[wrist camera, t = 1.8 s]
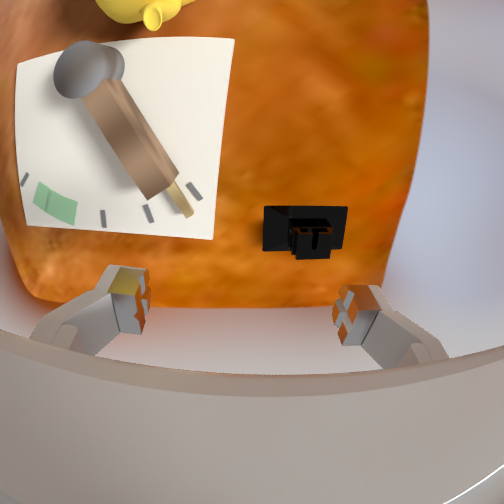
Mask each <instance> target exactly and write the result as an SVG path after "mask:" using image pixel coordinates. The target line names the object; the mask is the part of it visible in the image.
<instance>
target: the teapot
mask: <svg viewBox="0 0 504 504" xmlns="http://www.w3.org/2000/svg"><path fill="white" fill-rule="evenodd" d="M95 1H96V3H97V4H98V6H99V7H100V8H101V9H102V10H103V11H104V12H105V14H106V15H108V16H109V17H110V18H111V19H113V20H115V21H116V22H119V23H125V24H129V23H135V22H139V21H142V20H143V22H144V24H145V26H146V27H147V28H148V29H149V30H150V31H156V30H157V29H159V28H160V26H161V24H162V22H165V21H167V20H169V19H171V18H173V17H174V16H175V15H176V14H177V13H178V12H179V10H180V8H181V7H182V6H184V5H187V4H189V3H191V2H194V1H196V0H95Z"/></svg>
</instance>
